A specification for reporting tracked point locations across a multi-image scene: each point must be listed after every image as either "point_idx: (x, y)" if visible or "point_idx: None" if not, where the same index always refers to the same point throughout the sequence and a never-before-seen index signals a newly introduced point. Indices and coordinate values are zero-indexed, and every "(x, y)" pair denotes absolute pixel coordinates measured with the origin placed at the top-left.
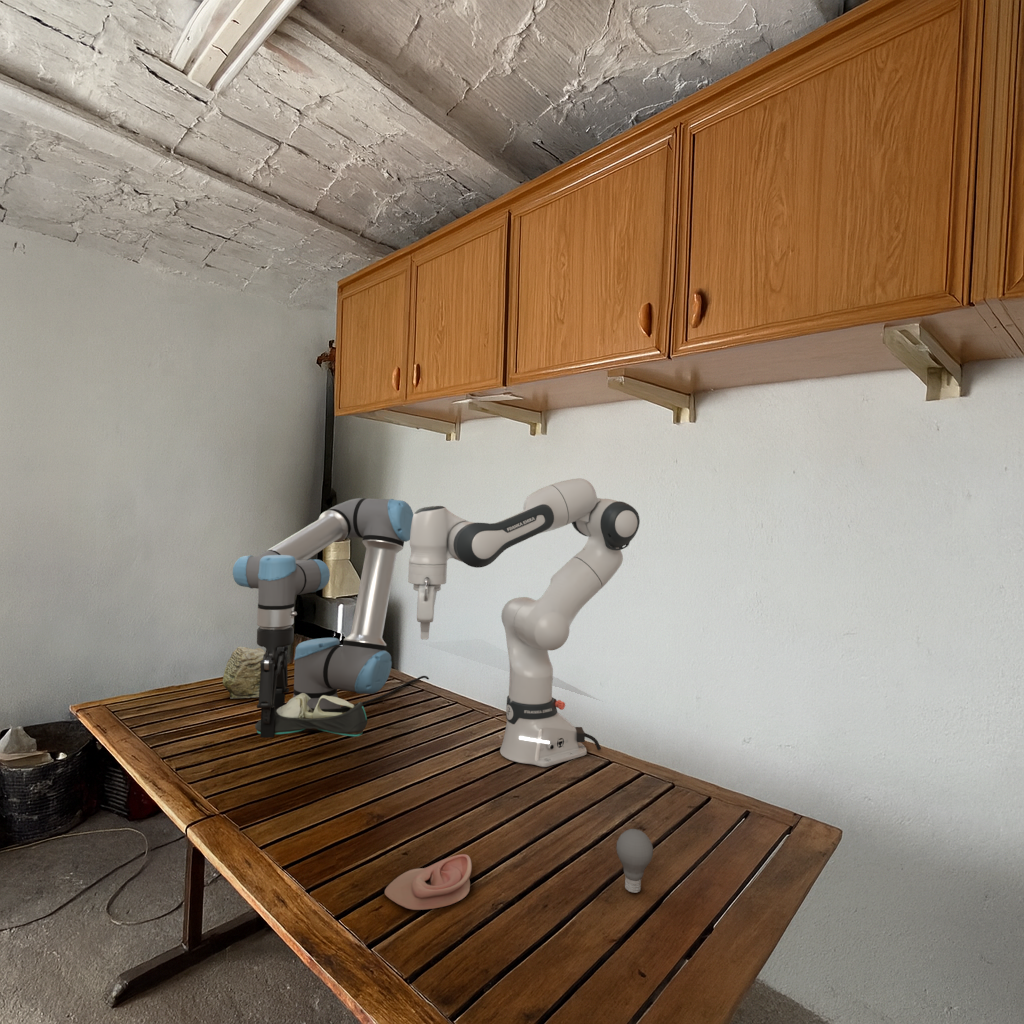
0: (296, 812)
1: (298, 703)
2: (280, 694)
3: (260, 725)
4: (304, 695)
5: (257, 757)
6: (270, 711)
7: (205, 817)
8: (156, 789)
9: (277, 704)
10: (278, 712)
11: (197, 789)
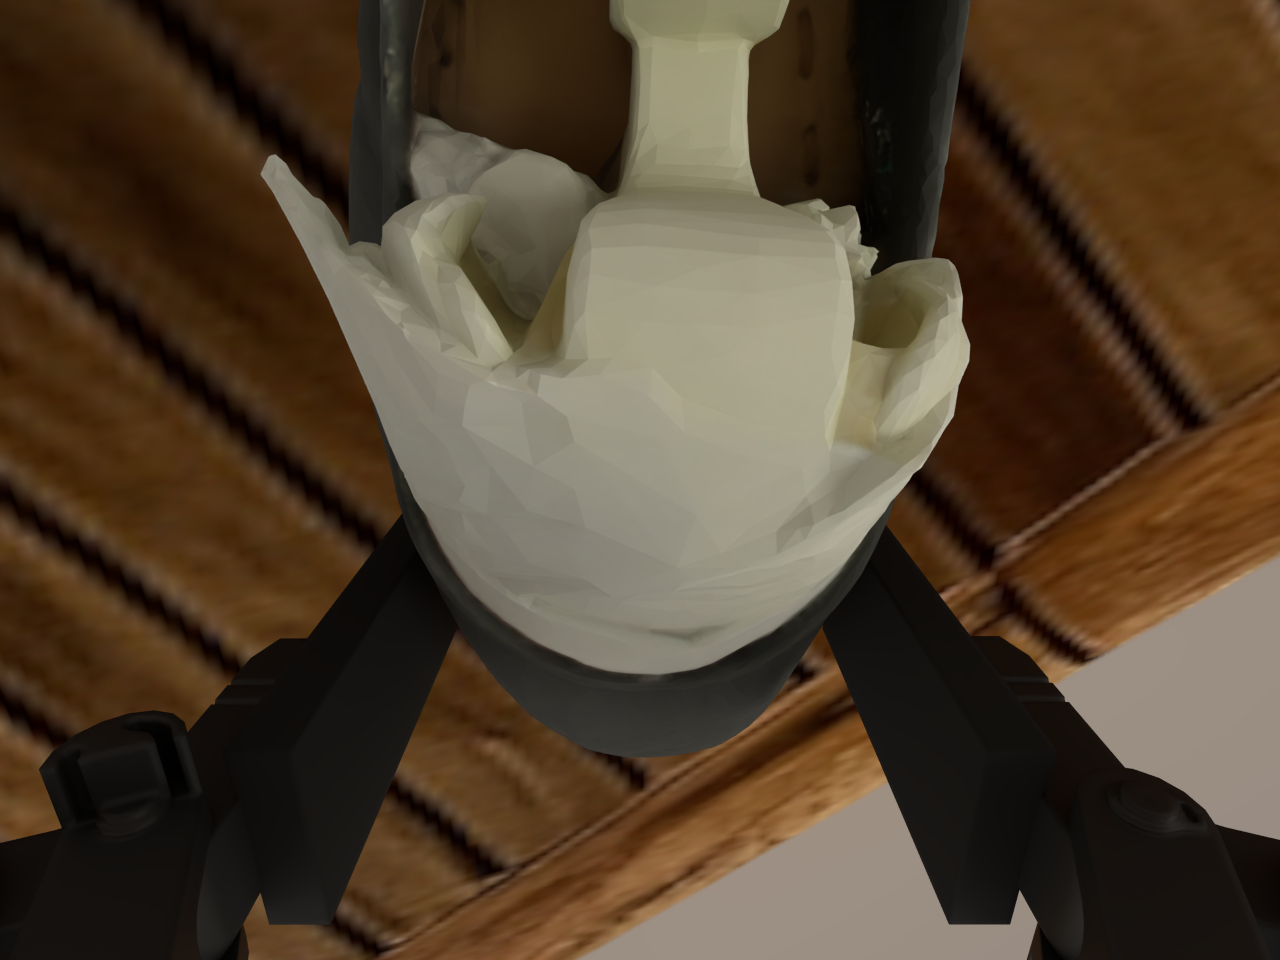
0: (1074, 150)
1: (962, 335)
2: (291, 808)
3: (759, 710)
4: (611, 263)
5: (295, 574)
6: (1065, 752)
7: (1021, 618)
8: (703, 877)
9: (376, 715)
10: (770, 628)
11: None
